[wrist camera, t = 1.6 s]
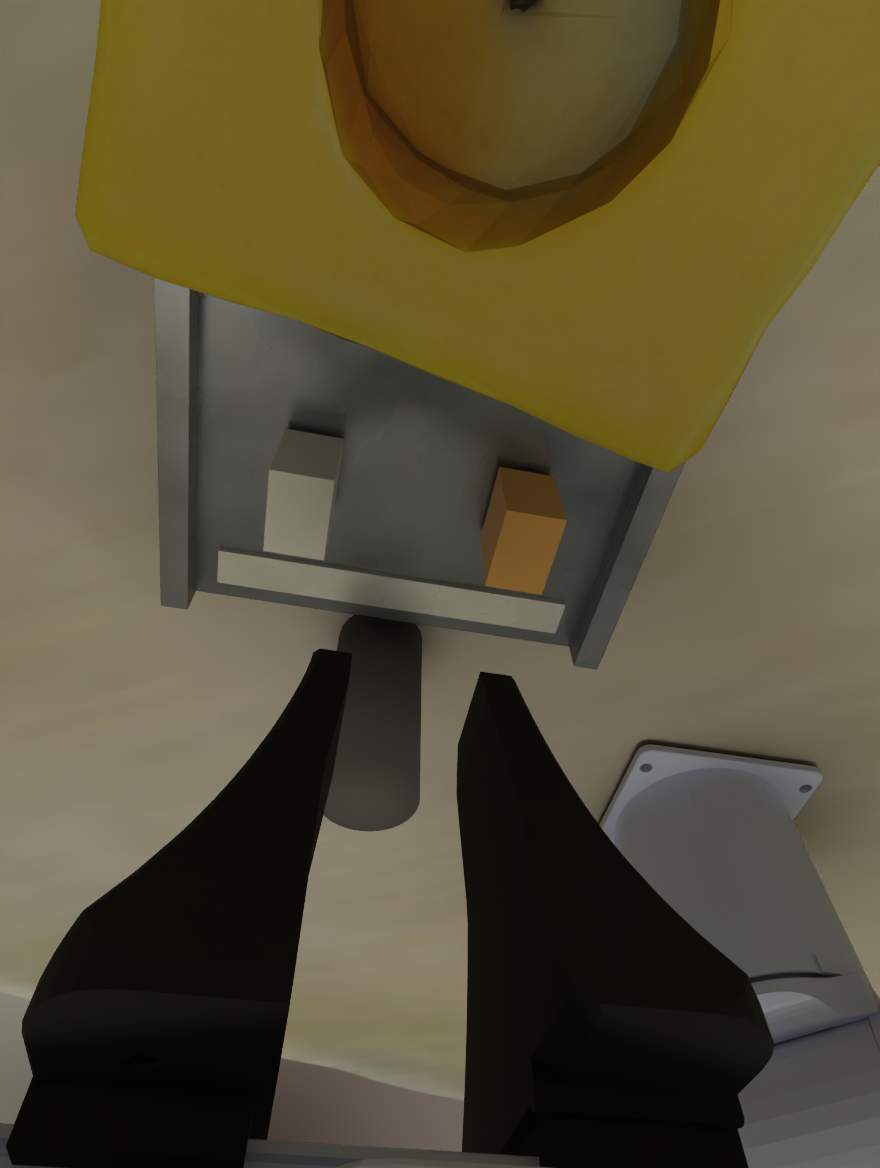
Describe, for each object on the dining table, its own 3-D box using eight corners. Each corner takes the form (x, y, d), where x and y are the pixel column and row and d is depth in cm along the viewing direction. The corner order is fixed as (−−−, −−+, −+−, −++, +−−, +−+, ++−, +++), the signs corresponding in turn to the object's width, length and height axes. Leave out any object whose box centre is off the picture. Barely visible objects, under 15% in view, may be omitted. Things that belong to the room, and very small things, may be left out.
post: (413, 678, 28) (409, 836, 22) (334, 666, 28) (309, 824, 22) (428, 615, 26) (428, 769, 21) (344, 602, 26) (319, 755, 20)
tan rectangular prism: (531, 546, 22) (541, 594, 20) (480, 538, 22) (485, 585, 20) (553, 476, 21) (567, 520, 19) (499, 466, 21) (506, 510, 19)
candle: (826, -139, 15) (1285, -373, 7) (589, 325, 21) (695, 496, 12) (355, -442, 13) (230, -1304, 5) (226, 168, 18) (61, 252, 10)
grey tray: (584, 622, 26) (597, 669, 24) (183, 560, 25) (160, 605, 23) (692, 347, 21) (721, 377, 19) (183, 243, 19) (154, 263, 17)
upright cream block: (333, 513, 22) (324, 560, 20) (278, 504, 22) (263, 550, 20) (344, 438, 20) (334, 480, 18) (285, 428, 20) (269, 469, 18)
